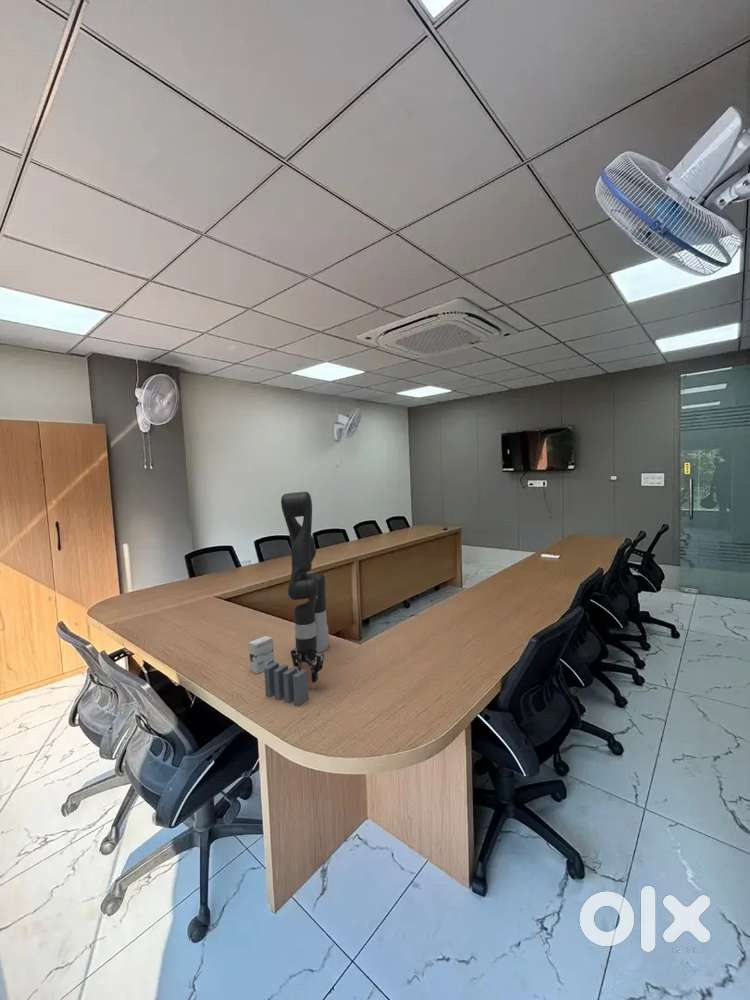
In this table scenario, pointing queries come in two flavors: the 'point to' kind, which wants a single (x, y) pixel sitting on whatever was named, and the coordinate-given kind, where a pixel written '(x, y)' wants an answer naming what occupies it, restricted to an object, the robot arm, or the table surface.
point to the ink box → (261, 654)
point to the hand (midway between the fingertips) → (308, 679)
